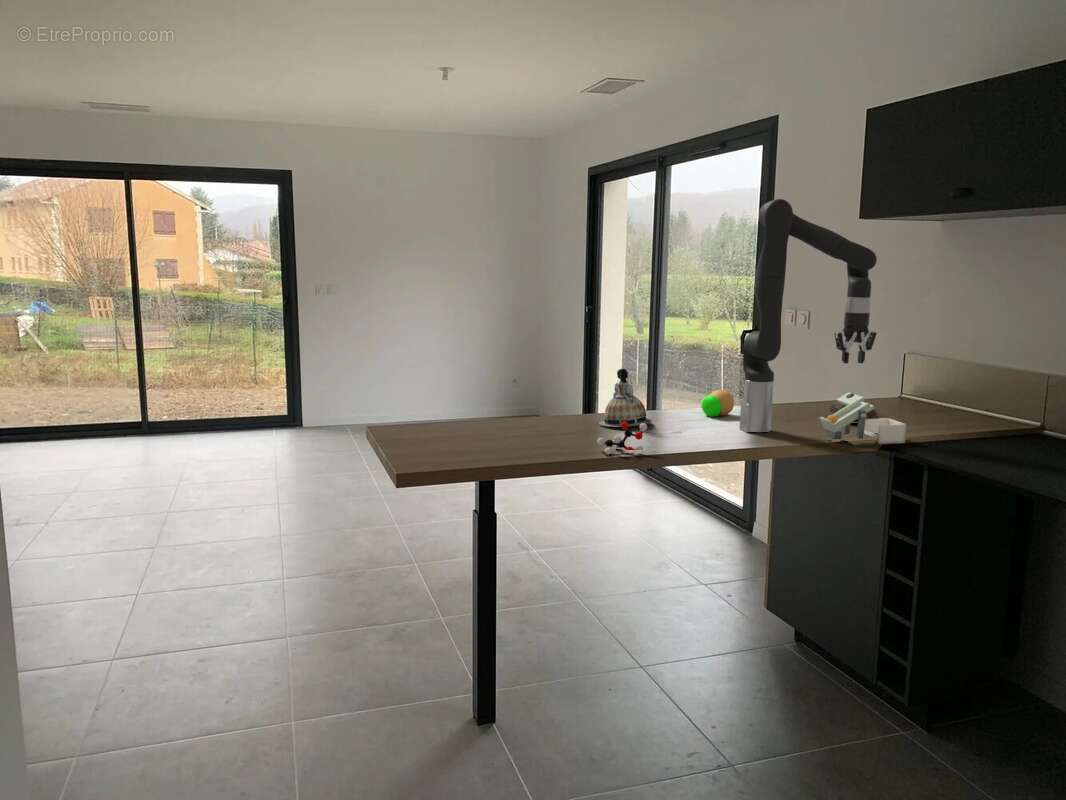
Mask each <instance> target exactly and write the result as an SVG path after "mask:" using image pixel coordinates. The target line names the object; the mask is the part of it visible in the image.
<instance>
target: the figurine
mask: <svg viewBox="0 0 1066 800" xmlns="http://www.w3.org/2000/svg"><path fill="white" fill-rule="evenodd" d="M616 374H617V379H618V380H620V381H618V382H616V383H615V384H614V391H613V396H612V398H611V399H610V400H609V401H608V402H607V404H606V406H605V410H604V420H603V421H600V422H599V423H598V424H599V426H602V427H616V428H618V427H619V428H620V427H621V423H622V422H627V423H628V427H633V426H634V427H635V426H640V425H641V424H642V423H645V424H646V425H647V427H649V426H650V423H652V422H653V420H652V419H651V418H648V417H647V412H646V407H645V405H644V403H643V402H642V401H641V399H639V398H638V397H637V396H635V395H634V388H633V386H632V384H630V383H629V382H628V381H627V379H628V378H629V372H628V370H627V369H625V368H619V369H618V370H617V371H616ZM621 428H622V427H621Z"/></svg>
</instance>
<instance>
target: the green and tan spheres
mask: <svg viewBox="0 0 1066 800" xmlns="http://www.w3.org/2000/svg"><path fill="white" fill-rule="evenodd" d="M700 403H701V410H702V412H703V413H704V414H705V415H706V417H707V416H708V417H710V418H715V417H723V416H727V415H728V414H730V413H731V412H732V411H733V410H734V407H735V398H734V396H733V395H732V394H731V393H730V391H727V389H726V390H725V389H717V390H714V391H712V392H710V393H709V395H706V396H704V397H703V399H702V400H701V402H700Z"/></svg>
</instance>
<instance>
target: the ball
mask: <svg viewBox="0 0 1066 800" xmlns="http://www.w3.org/2000/svg"><path fill="white" fill-rule="evenodd" d="M826 418H827V419H829V420H831V421H832V423H833V424H834V423H835V422H837V421H838V418H837V416H835V415H833V414H830V415H828V416H827V417H826Z"/></svg>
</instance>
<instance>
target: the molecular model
mask: <svg viewBox="0 0 1066 800" xmlns="http://www.w3.org/2000/svg"><path fill="white" fill-rule="evenodd" d="M621 429H623V430H624V437H623V438H622V437H621V435H618V434H617V435H614V436H613V440H612V439H606V440H605V438H604V437H599V438H598V439H597V441H596V442H597V444H598V445H599V446H604V445H605V446H606V448H605V449H604V451H605V452H611V451H612V452H613V450H612V448H611V447H613V446H614V448H615V447H616V448H621V449H622V448H623V449H624V450H625V451H626V450H643V451H644V448H643V446H641V445H638V446H636V447H635V448H634V447H632V446H626V445H625V441H626V440H627V439H628V438H630V437H634V438H635V439H636V440H642V439H643V432H645V431H646V430H647V429H648V426H647V424H645V423H642V424H641V425H639V431H638V432H635V433H633V432H632V430H630V429H629V426H628V423H627V422H622V423H621ZM604 451H603V452H604Z"/></svg>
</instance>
